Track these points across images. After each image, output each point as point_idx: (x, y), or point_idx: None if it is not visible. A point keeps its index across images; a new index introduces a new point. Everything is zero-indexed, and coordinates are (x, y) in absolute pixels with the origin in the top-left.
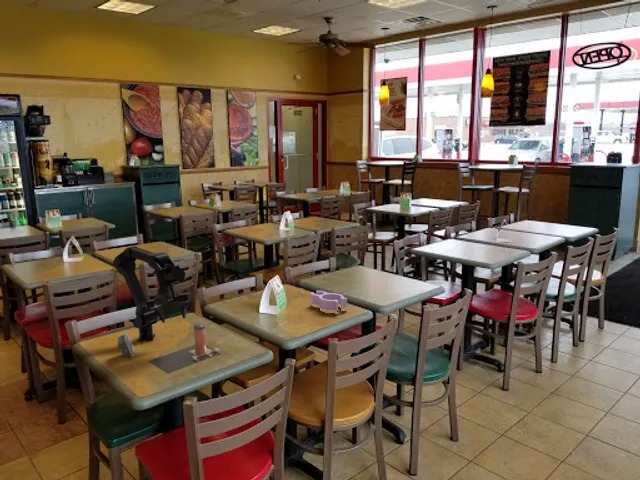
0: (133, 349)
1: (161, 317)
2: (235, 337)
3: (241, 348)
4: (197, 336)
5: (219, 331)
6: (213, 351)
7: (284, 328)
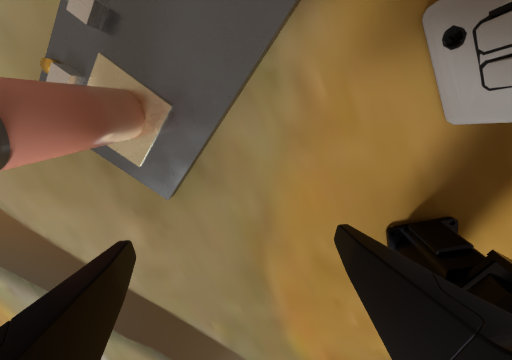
0: (464, 77)
1: (379, 256)
2: None
3: (32, 185)
4: (20, 79)
5: (175, 300)
6: None
7: (14, 316)
